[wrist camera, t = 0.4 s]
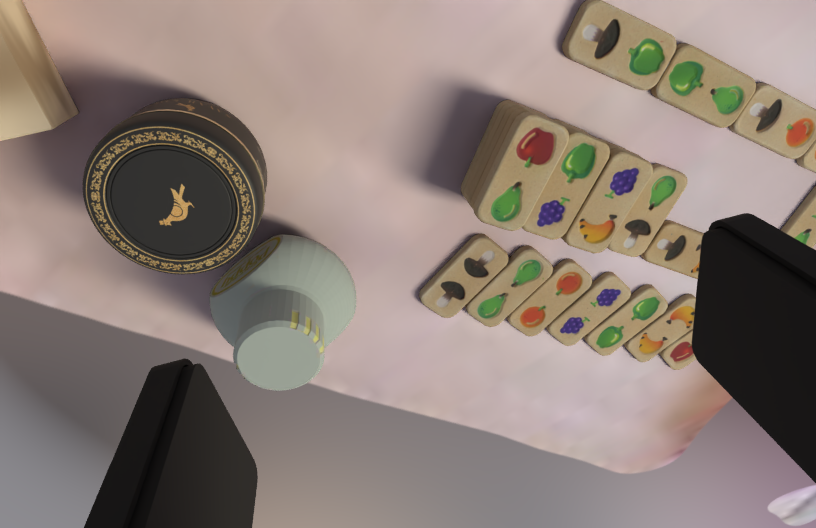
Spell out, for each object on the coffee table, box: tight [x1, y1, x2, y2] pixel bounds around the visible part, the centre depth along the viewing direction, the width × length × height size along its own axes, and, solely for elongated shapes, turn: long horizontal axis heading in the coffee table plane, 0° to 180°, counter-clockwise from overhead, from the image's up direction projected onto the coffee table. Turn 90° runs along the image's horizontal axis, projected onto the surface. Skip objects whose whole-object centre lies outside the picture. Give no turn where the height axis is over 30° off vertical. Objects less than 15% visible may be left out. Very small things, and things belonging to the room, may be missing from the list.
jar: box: [83, 98, 267, 274], centre depth 34 cm, size 10×10×8 cm
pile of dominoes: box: [419, 0, 816, 370], centre depth 44 cm, size 35×27×6 cm
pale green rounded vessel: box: [209, 235, 356, 390], centre depth 39 cm, size 11×8×10 cm
